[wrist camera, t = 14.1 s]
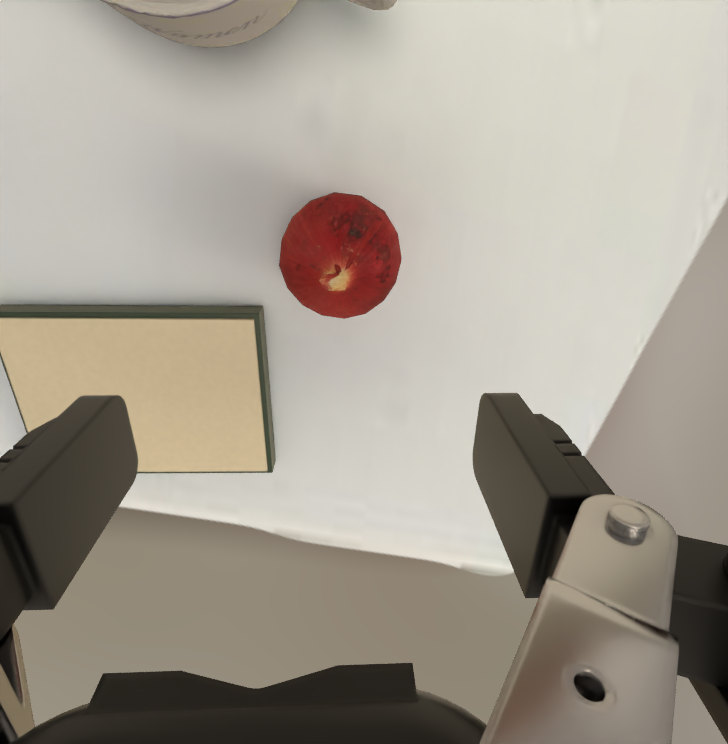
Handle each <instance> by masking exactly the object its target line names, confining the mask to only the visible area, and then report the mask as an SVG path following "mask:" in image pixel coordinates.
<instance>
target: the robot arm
mask: <svg viewBox="0 0 728 744" xmlns="http://www.w3.org/2000/svg"><path fill="white" fill-rule="evenodd" d="M473 468H474V474H475V477H476V480H477V482H478V485H479V487H480V490H481V492H482V494H483V497H484V499H485V502H486V504H487V506H488V509H489V511H490V514H491V516H492V519H493V521H494V523H495V526H496V528H497V531H498V533H499V535H500V538H501V540H502V543H503V545H504V548H505V550H506V552H507V555H508V557H509V560H510V562H511V564H512V567H513V569H514V572H515V574H516V577H517V579H518V581H519V584H520V586H521V589H522V591H523V593H524V596H525V598H539V599H538V601H537V604H536V606H535V609H534V611H533V614H532V616H531V618H530V621H529V623H528V626H527V628H526V631H525V633H524V636H523V638H522V641H521V643H520V645H519V648H518V650H517V653H516V655H515V657H514V660H513V662H512V665H511V667H510V670H509V672H508V675H507V677H506V679H505V682H504V684H503V687H502V689H501V692H500V694H499V697H498V699H497V701H496V704H495V706H494V709H493V711H492V714H491V716H490V718H489V721H488V724H487V725H486V724H485V723H484V722H482V721H481V720H480V719H478V718H477V717H475V716H474V715H472V714H471V713H469V712H468V711H466V710H465V709H463V708H462V707H459V706H458V705H456V704H454V703H452V702H450V701H448V700H447V699H444V698H441V697H439V696H436V695H434V694H431V693H429V692H425V691H421V690H417V689H416V686H415V679H414V672H413V665H412V663H396V664H368V665H341V666H335V667H331V668H328V669H325V670H322V671H318V672H315V673H311V674H308V675H305V676H301V677H298V678H295V679H292V680H288V681H285V682H282V683H278V684H275V685H271V686H268V687H265V688H260V689H252V688H247V687H243V686H239V685H235V684H231V683H227V682H223V681H219V680H215V679H211V678H207V677H203V676H199V675H195V674H191V673H187V672H183V671H162V672H134V673H106V674H103V675H102V677H101V679H100V681H99V684H98V686H97V688H96V691H95V693H94V695H93V697H92V699H91V701H90V703H88V704H85V705H82V706H79V707H77V708H74V709H72V710H69V711H67V712H64V713H62V714H60V715H58V716H56V717H54V718H52V719H50V720H48V721H46V722H44V723H42V724H40V725H38V726H36V727H35V724H34V720H33V714H32V709H31V703H30V697H29V692H28V686H27V680H26V674H25V669H24V663H23V657H22V651H21V645H20V639H19V635H18V632H17V629H16V627H15V625H14V622H15V620H16V619H17V618H18V616H19V615H20V613H21V612H22V610H45V609H46V610H48V609H54V608H55V606H56V604H57V603H58V601H59V600H60V598H61V596H62V595H63V593H64V592H65V590H66V589H67V587H68V585H69V584H70V582H71V581H72V579H73V577H74V576H75V574H76V572H77V571H78V570H79V568H80V566H81V565H82V563H83V562H84V560H85V558H86V557H87V555H88V554H89V552H90V551H91V549H92V547H93V546H94V544H95V543H96V541H97V539H98V538H99V536H100V534H101V533H102V531H103V530H104V528H105V527H106V525H107V524H108V522H109V520H110V519H111V517H112V516H113V514H114V513H115V511H116V509H117V508H118V506H119V505H120V503H121V501H122V500H123V498H124V497H125V495H126V494H127V492H128V490H129V489H130V487H131V486H132V484H133V482H134V480H135V478H136V474H137V469H138V454H137V450H136V445H135V441H134V437H133V432H132V428H131V424H130V419H129V415H128V411H127V406H126V403H125V401H124V399H123V398H122V397H121V396H119V395H83V396H80V397H79V398H77V399H76V400H75V401H74V402H73V403H72V404H71V405H70V406H69V407H68V408H67V409H66V410H65V411H63V412H62V413H61V414H60V415H59V416H58V417H57V418H54V419H52V420H50V421H48V422H46V423H45V424H43V425H41V426H39V427H37V428H35V429H33V430H31V431H30V432H29V433H28V434H27V435H25V436H24V437H23V438H22V439H21V440H20V441H19V442H18V443H16V444H15V445H14V446H13V449H12V450H9V451H8V452H6V453H5V454H4V455H3V456H2V457H1V458H0V744H671V742H672V730H673V717H674V705H675V704H674V703H675V693H676V680H677V675H680V676H683V677H687V678H688V679H689V680H690V682H691V683H692V685H693V686H694V688H695V690H696V692H697V694H698V695H699V697H700V698H701V700H702V702H703V703H704V705H705V707H706V708H707V710H708V712H709V713H710V715H711V717H712V718H713V720H714V722H715V723H716V725H717V727H718V728H719V730H720V732H721V733H722V735H723V737H724V738H725V740H726V742H727V743H728V546H727V545H722V544H717V543H712V542H707V541H702V540H698V539H692V538H688V537H683V536H679V535H677V534H676V531H675V530H674V528H673V527H672V525H671V524H670V523H669V522H668V521H667V520H666V519H665V518H664V517H663V516H662V515H661V514H659V513H658V512H657V511H655V510H654V509H652V508H650V507H649V506H647V505H645V504H642V503H641V502H638V501H635V500H633V499H630V498H626V497H623V496H618V495H615V494H614V493H613V492H612V490H611V489H610V488H609V486H608V485H607V484H606V483H605V481H604V480H603V479H602V478H601V476H600V475H599V474H598V473H597V472H596V470H595V469H594V468H593V467H592V465H591V464H590V463H589V462H588V460H587V459H586V458H585V457H584V456H582V455H581V452H580V450H579V449H578V448H577V447H576V445H575V444H572V440H571V439H570V438H569V437H568V435H567V434H566V433H565V432H564V430H563V429H562V428H561V427H560V426H559V425H558V424H556V423H554V422H553V421H551V420H550V419H548V418H547V417H545V416H544V415H542V414H533V413H532V412H531V410H530V409H529V407H528V406H527V405H526V403H525V402H524V401H523V399H522V398H521V397H520V395H519V394H517V393H484V394H483V395H482V397H481V399H480V404H479V411H478V418H477V425H476V433H475V440H474V447H473Z"/></svg>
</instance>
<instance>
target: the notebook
mask: <svg viewBox="0 0 728 744" xmlns="http://www.w3.org/2000/svg"><path fill="white" fill-rule="evenodd" d="M0 357H1V360H2V363H3V366H4V369H5V372H6V374H7V377H8V380H9V383H10V386H11V389H12V392H13V395H14V397H15V400H16V403H17V406H18V409H19V412H20V415H21V418H22V420H23V423H24V426H25V429H26V432H27V434H28V433H29V432H30V431H31V430H33V429H35V428H37V427H39V426H41V425H43V424H45V423H46V422H48V421H50V420H52V419H54V418H57V417H58V416H59V415H60V414H61V413H62V412H63V411H65V410H66V409H67V408H68V407H69V406H70V405H71V404H72V403H73V402H74V401H75V400H76V399H77V398H79V397H80V396H83V395H119V396H121V397H122V398H123V399H124V401H125V403H126V406H127V411H128V415H129V419H130V424H131V428H132V432H133V437H134V441H135V445H136V450H137V454H138V469H137V473H272V472H273V468H274V464H275V448H274V435H273V423H272V410H271V398H270V386H269V373H268V361H267V348H266V336H265V323H264V311H263V306H149V305H0Z"/></svg>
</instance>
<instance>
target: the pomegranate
mask: <svg viewBox="0 0 728 744" xmlns="http://www.w3.org/2000/svg"><path fill="white" fill-rule="evenodd" d="M400 263H401V252H400V245H399V239H398V233H397V232H396V230H395V228H394V227H393V225H392V223H391V222H390V220H389V218H388V216H387V215H386V213H385V211H383V210H382V209H380V208H379V207H377V206H376V205H374V204H373V203H371V202H370V201H368V200H367V199H365V198H364V197H362V196H358V195H351V194H343V193H335V192H334V193H331V194H328V195H326V196H323V197H320V198H317V199H314V200H312V201H310V202H309V203H308V204H306V205H305V206H304V207H303V208H302V209H301V210H300V211H299V212H298V213H296V214H295V215H294V216H293V217H292V219H291V221H290V223H289V225H288V227H287V229H286V232H285V234H284V236H283V238H282V242H281V252H280V263H279V267H280V269H281V272H282V275H283V277H284V280H285V283H286V285H287V288H288V289H289V290H290V291H291V293H292V294H293V295H294V296H295V297H296V298H297V299H298V300H299V302H300V303H301V304H302V305H304V306H305V307H307V308H309V309H311V310H313V311H315V312H317V313H319V314H321V315H324V316H331V317H337V318H348V317H353V316H357V315H362V314H366V313H367V312H369V311H370V310H371V309H373V308H374V307H375V306H377V305H378V304H380V303H381V302H382V301H384V300H385V298H386V296H387V295H388V293H389V292H390V290H391V289H392V287H393V286H394V284H395V283H396V279H397V275H398V271H399V267H400Z"/></svg>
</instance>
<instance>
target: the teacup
mask: <svg viewBox="0 0 728 744" xmlns="http://www.w3.org/2000/svg"><path fill="white" fill-rule="evenodd" d="M102 1H104V2H106V3H107V4H109V5H110V6H111V7H113V8H114V9H116V10H117V11H119V12H120V13H122V14H123V15H124V16H126V17H128V18H129V19H131V20H133V21H134V22H136V23H138V24H139V25H141V26H143V27H144V28H146V29H148V30H150V31H152V32H154V33H156V34H158V35H161V36H163V37H165V38H168V39H171V40H173V41H176V42H179V43H183V44H187V45H193V46H199V47H225V46H231V45H236V44H241V43H243V42H246V41H249V40H251V39H254V38H256V37H258V36H260V35H262V34H263V33H265V32H267V31H268V30H270V29H271V28H272V27H274V26H275V25H276V24H278V23H279V22H280V21H281V20H282V19H283V18H284V17H285V16H286V15H287V14H288V13H289V12H290V10H291V9H292V8H293V7H294V6H295V4H296V3H297V2H298V0H102ZM349 1H351V2H353V3H356V4H359V5H361V6H364V7H367V8H370V9H373V10H388V9H389V8H391V7H392V6H393V5H394V4H395V3H396V1H397V0H349Z"/></svg>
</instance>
